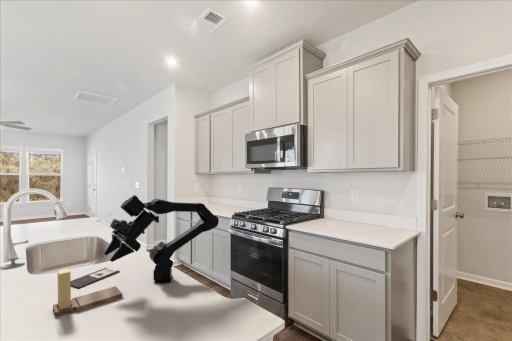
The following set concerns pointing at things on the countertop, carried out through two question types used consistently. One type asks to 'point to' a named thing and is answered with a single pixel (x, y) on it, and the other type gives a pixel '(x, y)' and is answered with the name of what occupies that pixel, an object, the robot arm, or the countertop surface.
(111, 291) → the brown buckle strap
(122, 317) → the countertop surface
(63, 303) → the stub
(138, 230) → the robot arm
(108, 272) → the chocolate bar
